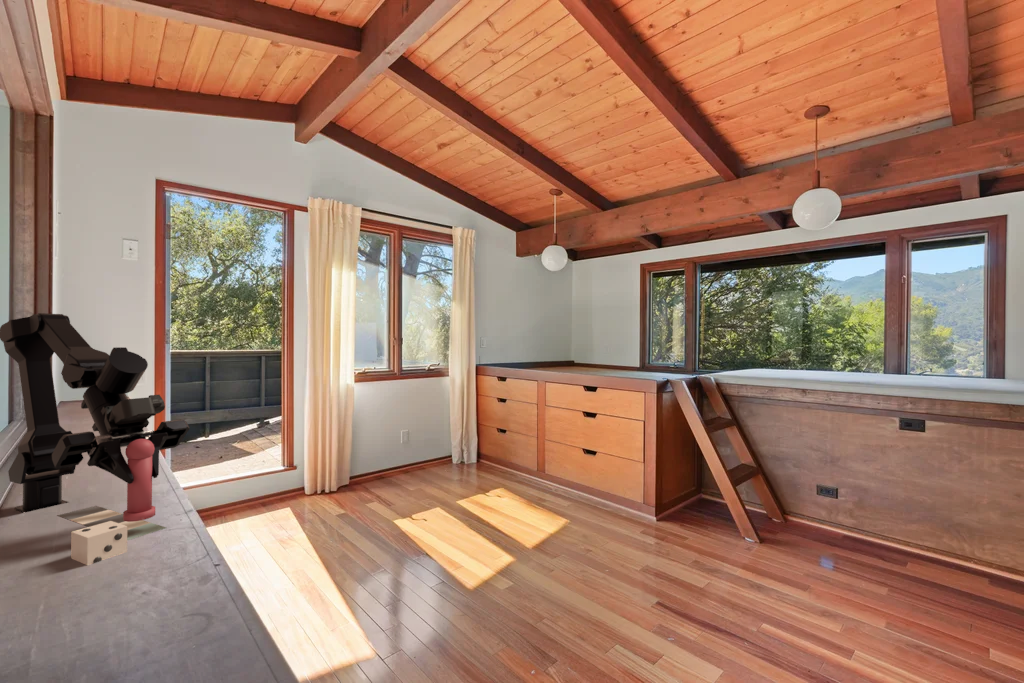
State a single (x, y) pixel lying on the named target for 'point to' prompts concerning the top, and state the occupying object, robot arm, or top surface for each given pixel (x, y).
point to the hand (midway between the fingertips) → (144, 479)
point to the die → (98, 542)
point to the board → (103, 515)
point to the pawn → (139, 481)
